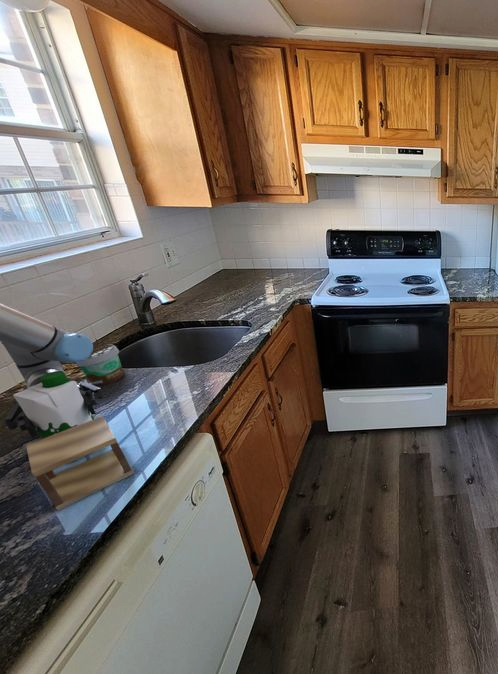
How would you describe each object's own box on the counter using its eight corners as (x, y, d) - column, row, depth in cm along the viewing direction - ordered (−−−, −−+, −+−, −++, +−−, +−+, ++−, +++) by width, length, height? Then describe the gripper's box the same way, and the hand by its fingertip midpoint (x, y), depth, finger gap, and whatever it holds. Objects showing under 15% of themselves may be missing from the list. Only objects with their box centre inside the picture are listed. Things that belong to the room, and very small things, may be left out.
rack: (49, 480, 81) (25, 445, 76) (120, 449, 89) (102, 415, 85) (57, 510, 73) (31, 473, 69) (134, 473, 82) (115, 437, 78)
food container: (108, 388, 116) (94, 360, 111) (88, 388, 116) (74, 361, 111) (138, 368, 127) (126, 342, 122) (120, 369, 127) (108, 343, 122)
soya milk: (113, 440, 92) (76, 372, 84) (70, 465, 85) (25, 394, 76) (90, 433, 95) (52, 367, 86) (47, 458, 87) (0, 387, 79)
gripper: (109, 381, 105) (129, 410, 92) (-5, 419, 90) (-1, 460, 77) (97, 358, 102) (116, 385, 89) (-23, 394, 86) (-21, 432, 73)
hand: (62, 420), depth 83 cm, fingers closed on soya milk, 9 cm apart
